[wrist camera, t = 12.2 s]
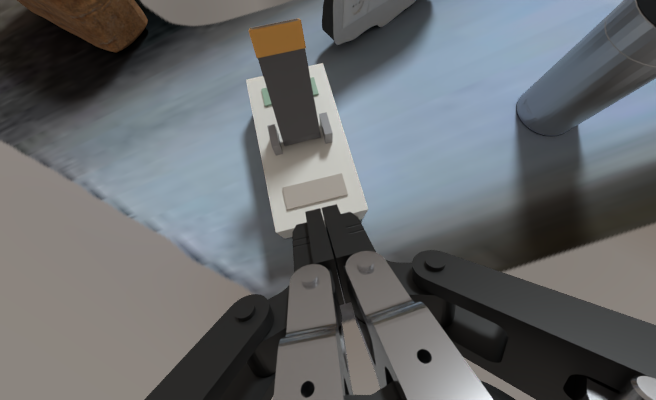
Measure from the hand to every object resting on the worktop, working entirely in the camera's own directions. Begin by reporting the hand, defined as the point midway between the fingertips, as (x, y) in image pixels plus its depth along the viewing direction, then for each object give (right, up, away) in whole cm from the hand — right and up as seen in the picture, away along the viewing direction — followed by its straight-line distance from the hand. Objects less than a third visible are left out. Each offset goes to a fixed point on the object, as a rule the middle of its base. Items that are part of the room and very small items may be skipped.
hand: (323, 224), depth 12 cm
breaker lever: (-3, +9, +22) cm, 24 cm away
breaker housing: (-3, +8, +28) cm, 30 cm away
